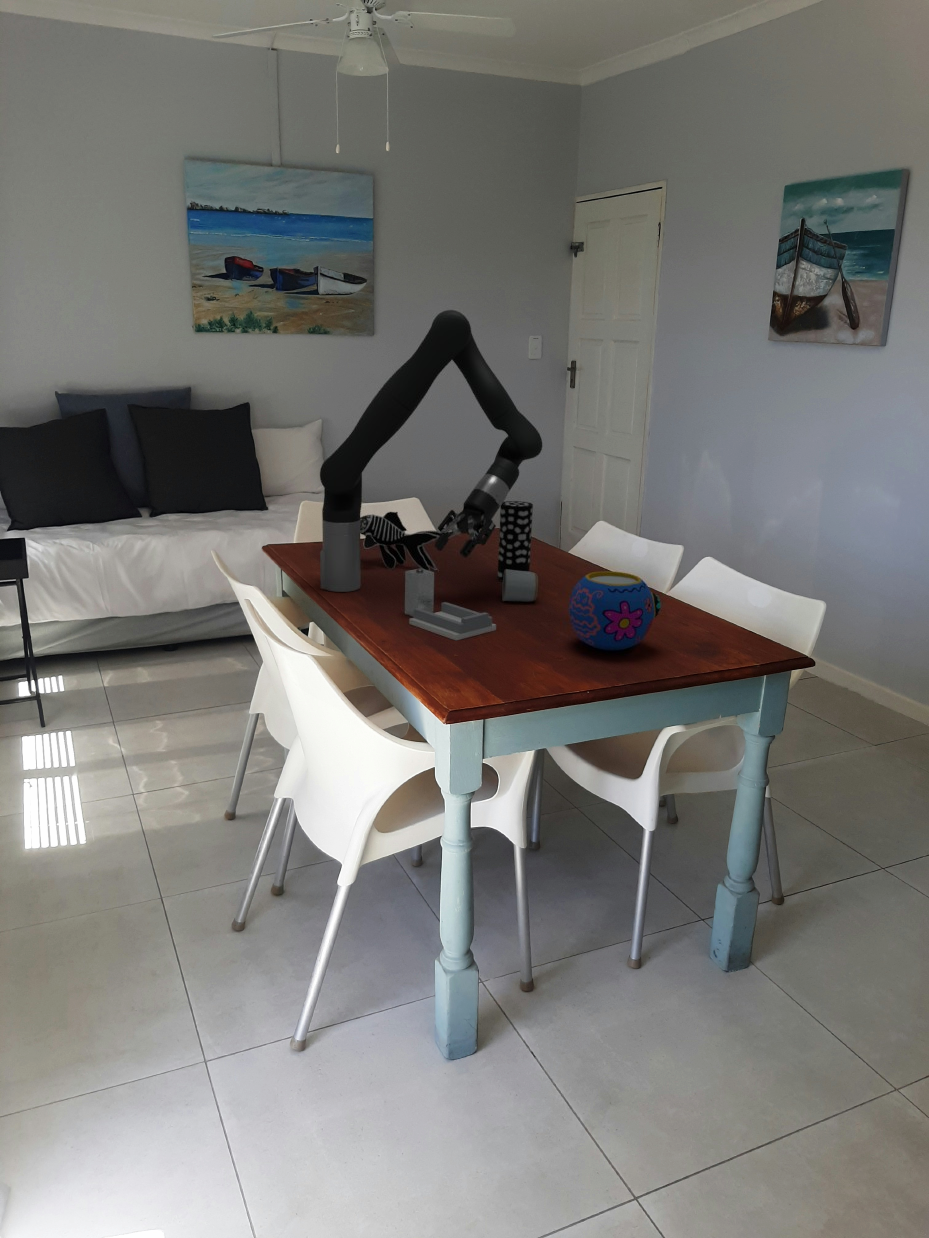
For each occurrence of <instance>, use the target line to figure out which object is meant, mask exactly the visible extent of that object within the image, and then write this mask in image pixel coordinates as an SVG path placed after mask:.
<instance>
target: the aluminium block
mask: <svg viewBox="0 0 929 1238" xmlns="http://www.w3.org/2000/svg"><path fill="white" fill-rule="evenodd" d="M404 574H405V575H404V576H405V577H404V581H405V582H404V615H407V616H410V617H412V618H414V609H417V608H419V609H422V610H425V611H428V612H431V613H434V593H435V572H434V571H431V570H430V571H428V570H425V569H422V568H420V567H419V568H416V569H411V570H406V571H405V573H404Z"/></svg>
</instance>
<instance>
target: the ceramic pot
mask: <svg viewBox="0 0 929 1238" xmlns="http://www.w3.org/2000/svg"><path fill="white" fill-rule="evenodd" d="M661 608H662V605H661V599H660V597H659V596H658V595H657V594H656V593H653V592H652V590H650V588H649V585H648V584H647V583H646V582H645V581H644V580H643V579H642V578H640V577H639V576H637V575H635V574H631V573H629V572H620V571H610V570H609V571H608V570H607V571H594V572H590V573H588V574H586V575H584V576H583V577H582V578H581V579H580V580H579V581H578V582H577V583H576V585H575V586H574V588H573V590H572V593H571V594H570V598H569V603H568V615H569V621H570V625H571V626H572V630H573V631H574V633H575V636H576V637H578V638H577V639H579V640H581V641H582V642H583V643H584V644H585V645H588V646H591V647H592V648H595V649H598V650H602V651H613V652H614V651H621V650H622V651H623V650H626V649H628V648H631V647H634V646H636V645H638V644H639V643H641V641H643V640H644V638H645V637H646V636H647V635H648V633H649V631H650V629H651V627H652V625H653V622H654V620H655V619H656V617H657V616H658V615H659V613H660V611H661Z"/></svg>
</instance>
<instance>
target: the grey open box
mask: <svg viewBox="0 0 929 1238" xmlns="http://www.w3.org/2000/svg"><path fill="white" fill-rule="evenodd" d="M440 604H441V606H440V607H441V610H440V611H437V612H433V613H431V612H428V611H425V610H422V609H419V608H417V609H414V617H412V618H409V620H408V621H409V625H411V626H414V627H417V628H420V629H423V630H426V631H428V632H430V633H433V634H437V635H439V636H442V637H445V638H448V639H451V640H453V641H460V640H462V639H463V640H464V639H467V638H471V637H474V636H479V635H482V634H487V633H489V632H490V633H491V632H494V631H497V624H496V623H493V617H492V616H491V615H489V613H488V612H485V611H484V612H478V611H474V610H471V609H468V608H465V607H462V606H459V605H456V604H453V603H450V602H446V601H444V602H441V603H440Z"/></svg>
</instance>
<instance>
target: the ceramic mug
mask: <svg viewBox="0 0 929 1238" xmlns="http://www.w3.org/2000/svg"><path fill="white" fill-rule="evenodd" d="M538 589H539V577H538V574H537V573H535V572H531V571H529V572H527V571H517V570H508V569H505V571H504V576H503V582H502V590H501V591H502V592H501V593H502V594H501V595H502V601H503V602H521V603H522V602H525V603H526V602H528V603H530V602H534V601H536V599H537V596H538Z"/></svg>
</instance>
